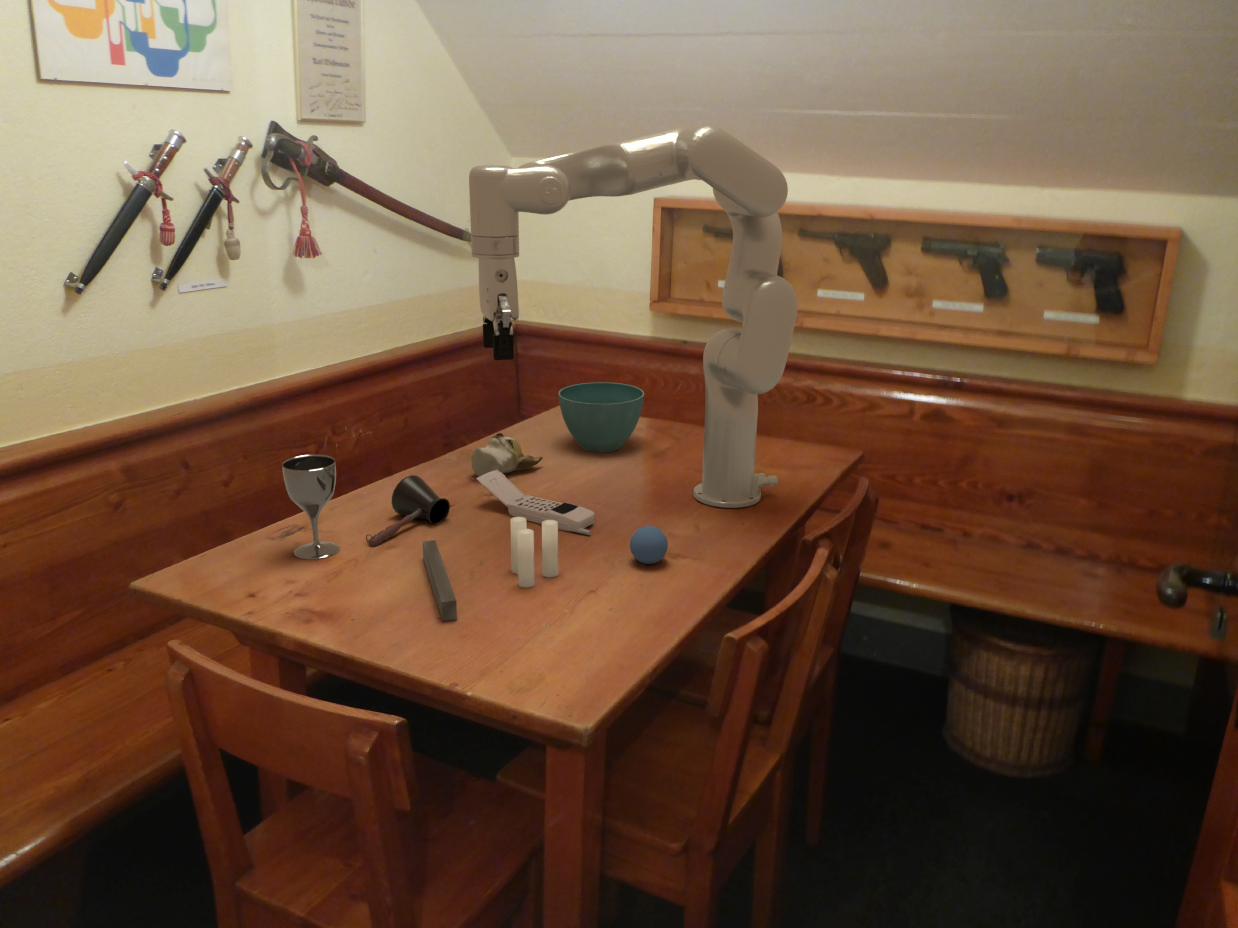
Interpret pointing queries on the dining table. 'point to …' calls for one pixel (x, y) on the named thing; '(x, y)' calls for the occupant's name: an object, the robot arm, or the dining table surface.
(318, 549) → the silver goblet
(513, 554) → the pin
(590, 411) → the teal bowl
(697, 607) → the dining table surface
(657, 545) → the ball
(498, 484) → the mobile phone
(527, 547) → the pin
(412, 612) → the dining table surface
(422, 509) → the coffee pot
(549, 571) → the front pin
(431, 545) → the back wall
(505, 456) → the ceramic sculpture
